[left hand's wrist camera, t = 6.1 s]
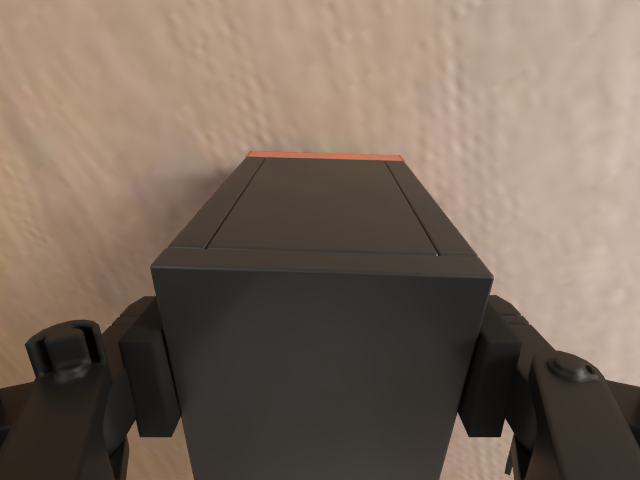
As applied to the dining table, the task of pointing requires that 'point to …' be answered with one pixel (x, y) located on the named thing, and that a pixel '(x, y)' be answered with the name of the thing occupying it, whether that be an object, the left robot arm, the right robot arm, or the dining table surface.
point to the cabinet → (320, 321)
